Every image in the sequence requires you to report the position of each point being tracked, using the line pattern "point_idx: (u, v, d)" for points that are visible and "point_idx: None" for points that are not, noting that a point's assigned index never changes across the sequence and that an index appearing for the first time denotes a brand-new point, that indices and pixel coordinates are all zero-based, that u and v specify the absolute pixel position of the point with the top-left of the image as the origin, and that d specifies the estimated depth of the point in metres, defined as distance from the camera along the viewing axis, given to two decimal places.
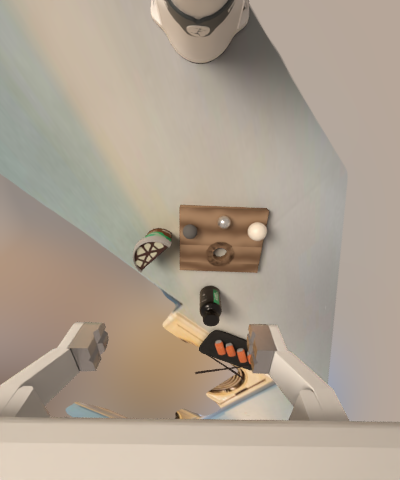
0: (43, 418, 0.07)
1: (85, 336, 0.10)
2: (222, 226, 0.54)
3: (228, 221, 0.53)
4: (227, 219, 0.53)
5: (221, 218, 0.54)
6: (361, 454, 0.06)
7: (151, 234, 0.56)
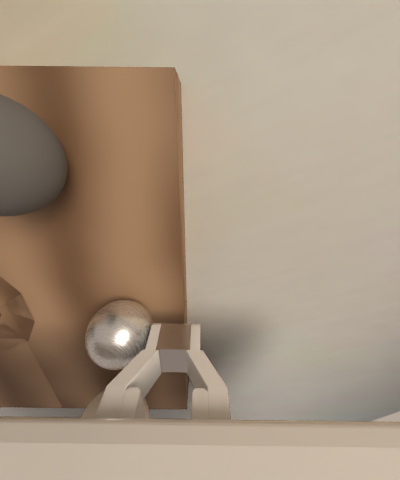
0: (43, 418, 0.07)
1: (168, 337, 0.10)
2: (91, 350, 0.10)
3: None
4: None
5: (136, 334, 0.10)
6: (361, 454, 0.06)
7: None
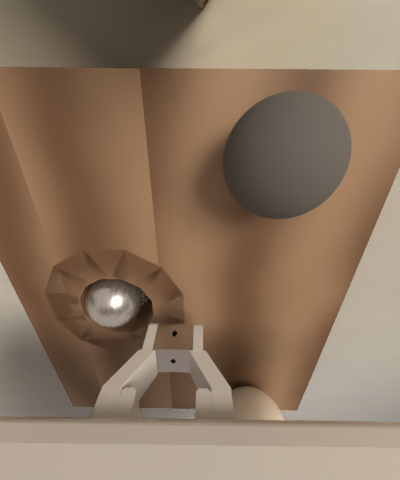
0: (43, 418, 0.07)
1: (165, 337, 0.10)
2: None
3: None
4: None
5: (96, 304, 0.12)
6: (361, 454, 0.06)
7: None
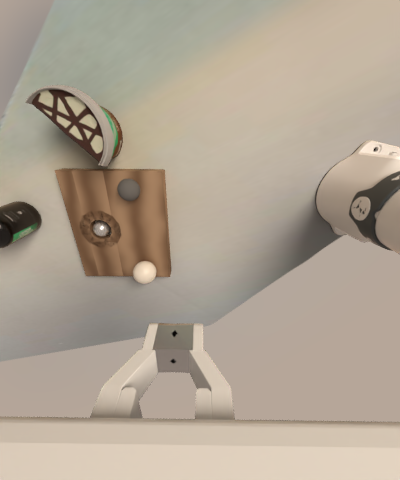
0: (43, 418, 0.07)
1: (165, 337, 0.10)
2: None
3: (96, 234, 0.44)
4: (97, 234, 0.43)
5: (97, 227, 0.42)
6: (361, 454, 0.06)
7: (111, 124, 0.33)
